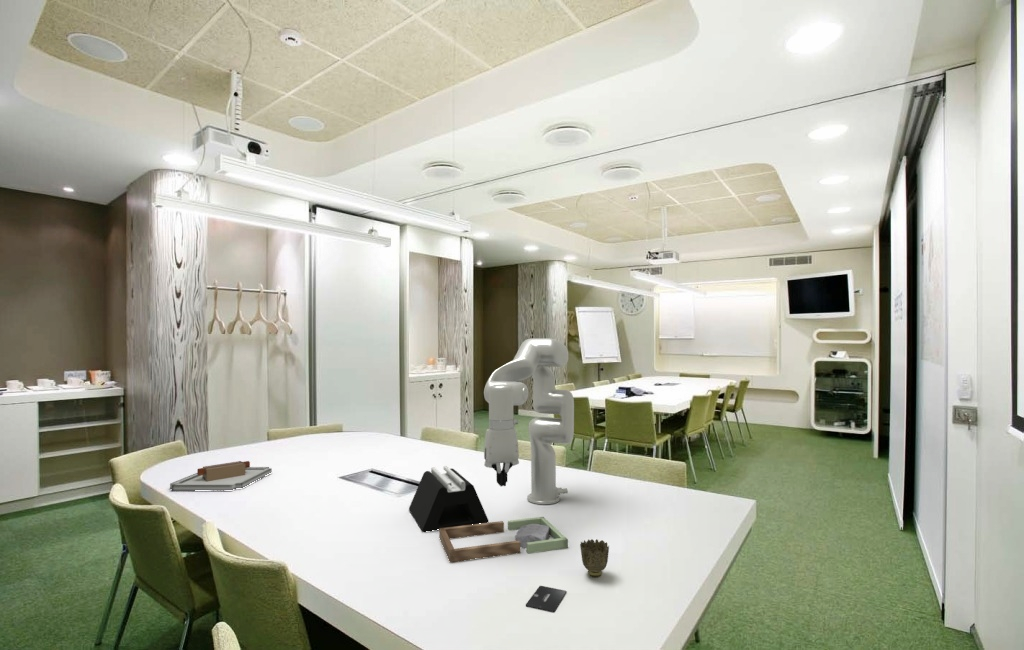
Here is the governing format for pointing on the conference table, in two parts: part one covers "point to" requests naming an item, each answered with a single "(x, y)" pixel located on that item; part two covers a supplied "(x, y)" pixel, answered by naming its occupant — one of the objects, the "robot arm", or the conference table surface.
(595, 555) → the cup
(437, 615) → the conference table surface
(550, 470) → the robot arm
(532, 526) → the stone block
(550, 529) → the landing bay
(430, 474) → the device stand
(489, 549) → the brown wooden u frame
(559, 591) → the solid state drive
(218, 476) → the grey flat square tray
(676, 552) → the conference table surface
